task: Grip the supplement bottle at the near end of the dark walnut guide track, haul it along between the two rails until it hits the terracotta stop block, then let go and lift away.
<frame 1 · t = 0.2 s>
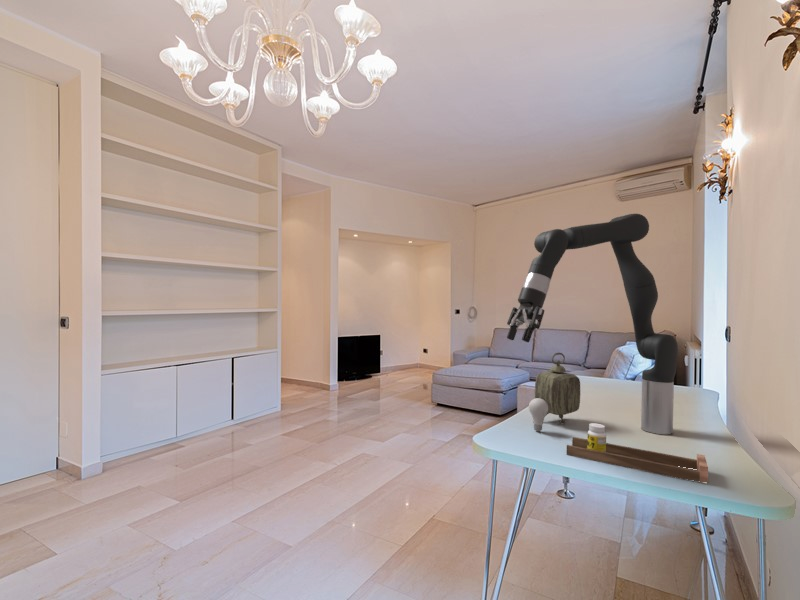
hand: (517, 340, 122), 31 cm above the table, tool tilted 20°, fingers open, 8 cm apart
lightbulb: (537, 432, 134), on the table
tabletop clock: (557, 422, 146), on the table
supplement bottle: (596, 455, 114), resting in guide track
guide track: (629, 461, 109), on the table
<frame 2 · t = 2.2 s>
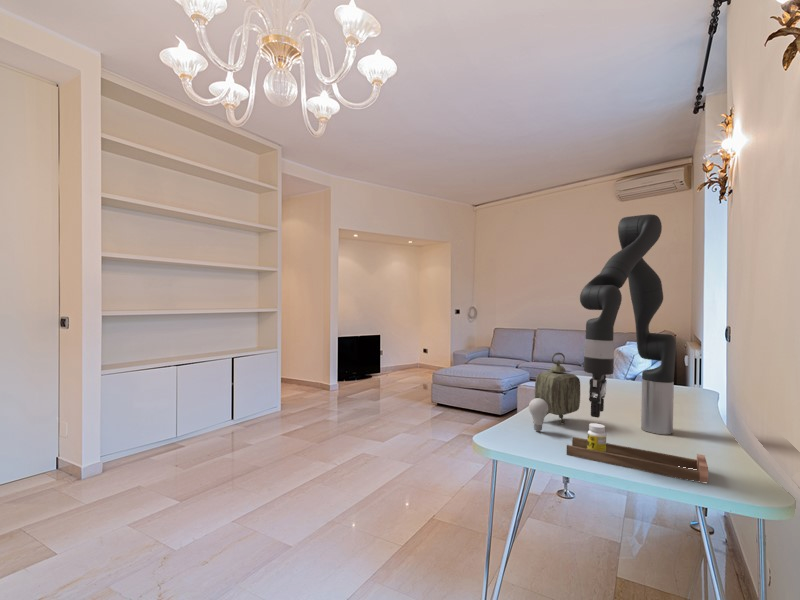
hand: (597, 413, 114), 12 cm above the table, tool pointing down, fingers open, 8 cm apart
nothing on the table moved.
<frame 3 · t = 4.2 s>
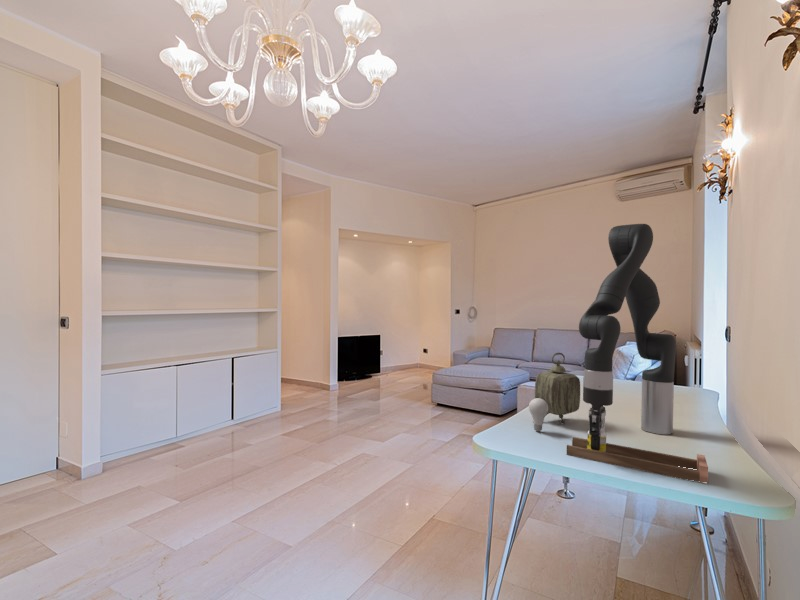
hand: (596, 446, 114), 2 cm above the table, tool pointing down, fingers closed on supplement bottle, 4 cm apart
supplement bottle: (596, 455, 114), resting in guide track, touching gripper
everything else where it was.
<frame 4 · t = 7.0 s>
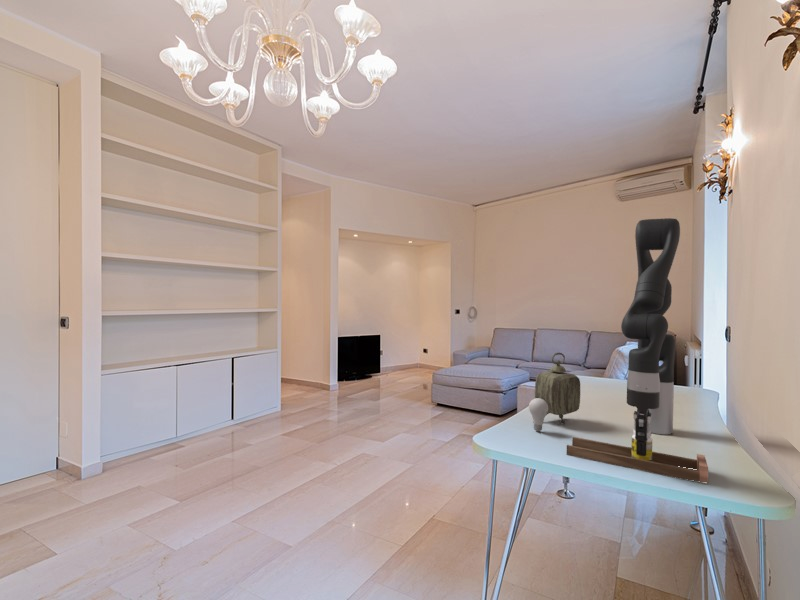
hand: (641, 451, 108), 3 cm above the table, tool pointing down, fingers closed on supplement bottle, 4 cm apart
supplement bottle: (641, 461, 108), point 1 cm above the table, touching gripper
everything else where it was.
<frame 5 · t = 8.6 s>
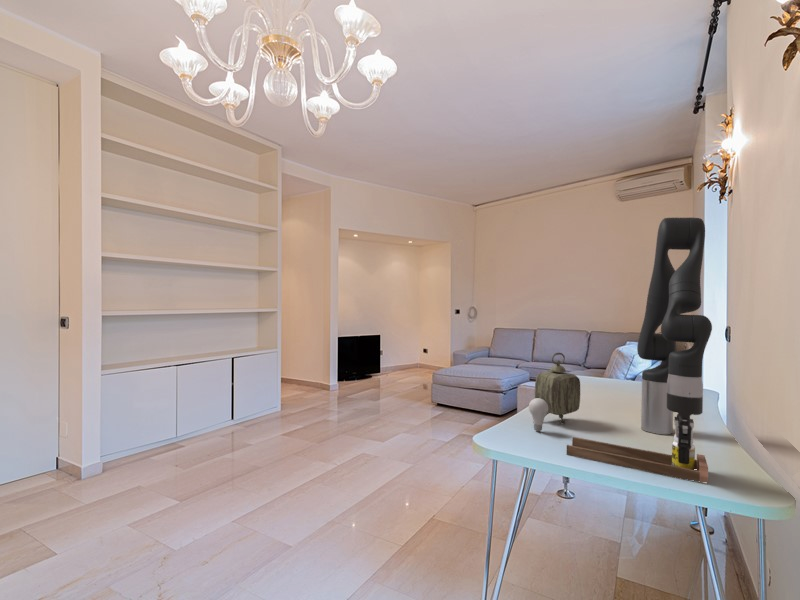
hand: (683, 459, 103), 3 cm above the table, tool pointing down, fingers closed on supplement bottle, 4 cm apart
supplement bottle: (682, 469, 103), point 1 cm above the table, touching gripper
everything else where it was.
when the fingers open (3 cm above the table, at t = 10.0 s): supplement bottle stays where it is, resting in guide track.
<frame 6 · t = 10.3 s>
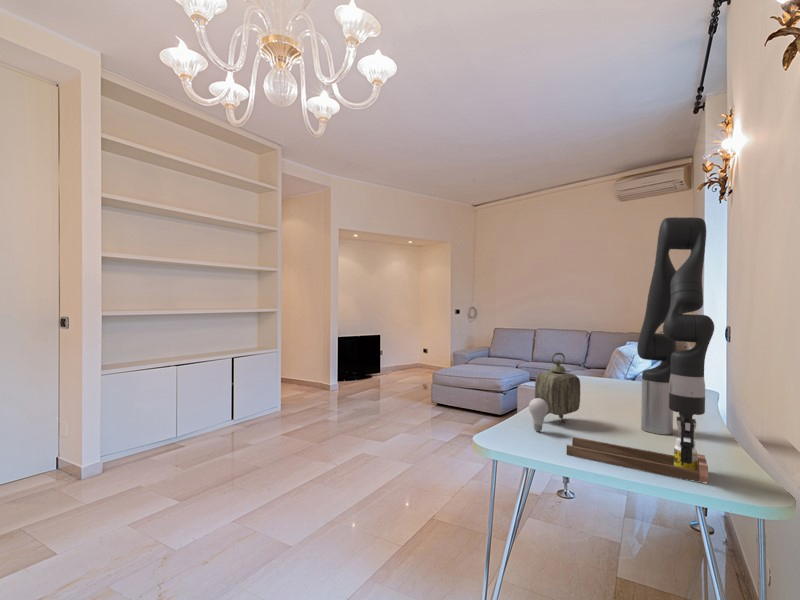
hand: (685, 457, 103), 4 cm above the table, tool pointing down, fingers open, 7 cm apart
supplement bottle: (685, 474, 103), resting in guide track
everything else where it was.
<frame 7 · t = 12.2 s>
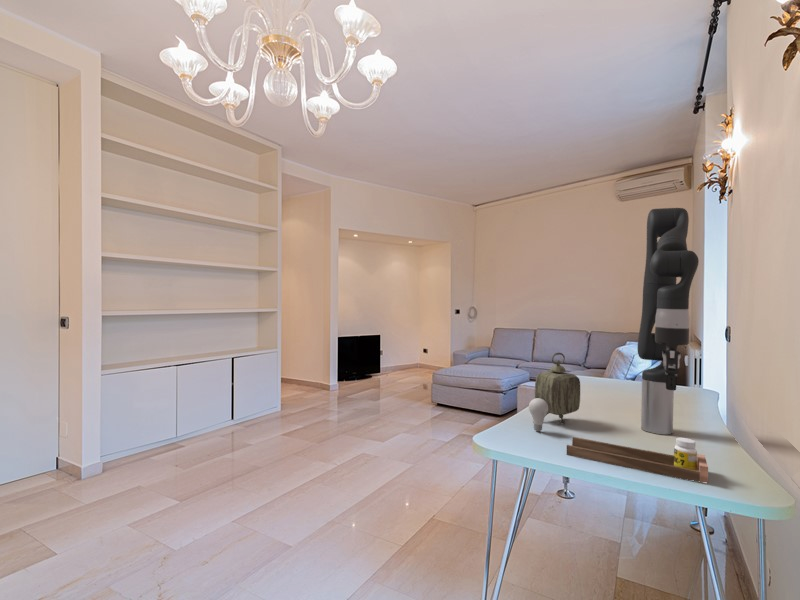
hand: (670, 387, 108), 21 cm above the table, tool pointing down, fingers open, 8 cm apart
nothing on the table moved.
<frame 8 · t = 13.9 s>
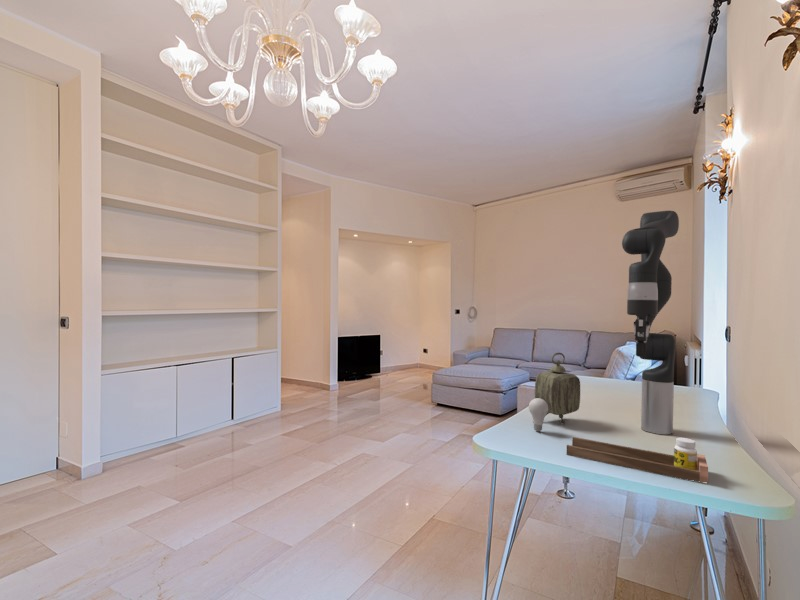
hand: (641, 355, 116), 28 cm above the table, tool pointing down, fingers open, 8 cm apart
nothing on the table moved.
at the end: supplement bottle 0.9 cm from the target spot, resting in guide track; supplement bottle tilted 0°; the gripper is holding nothing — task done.
